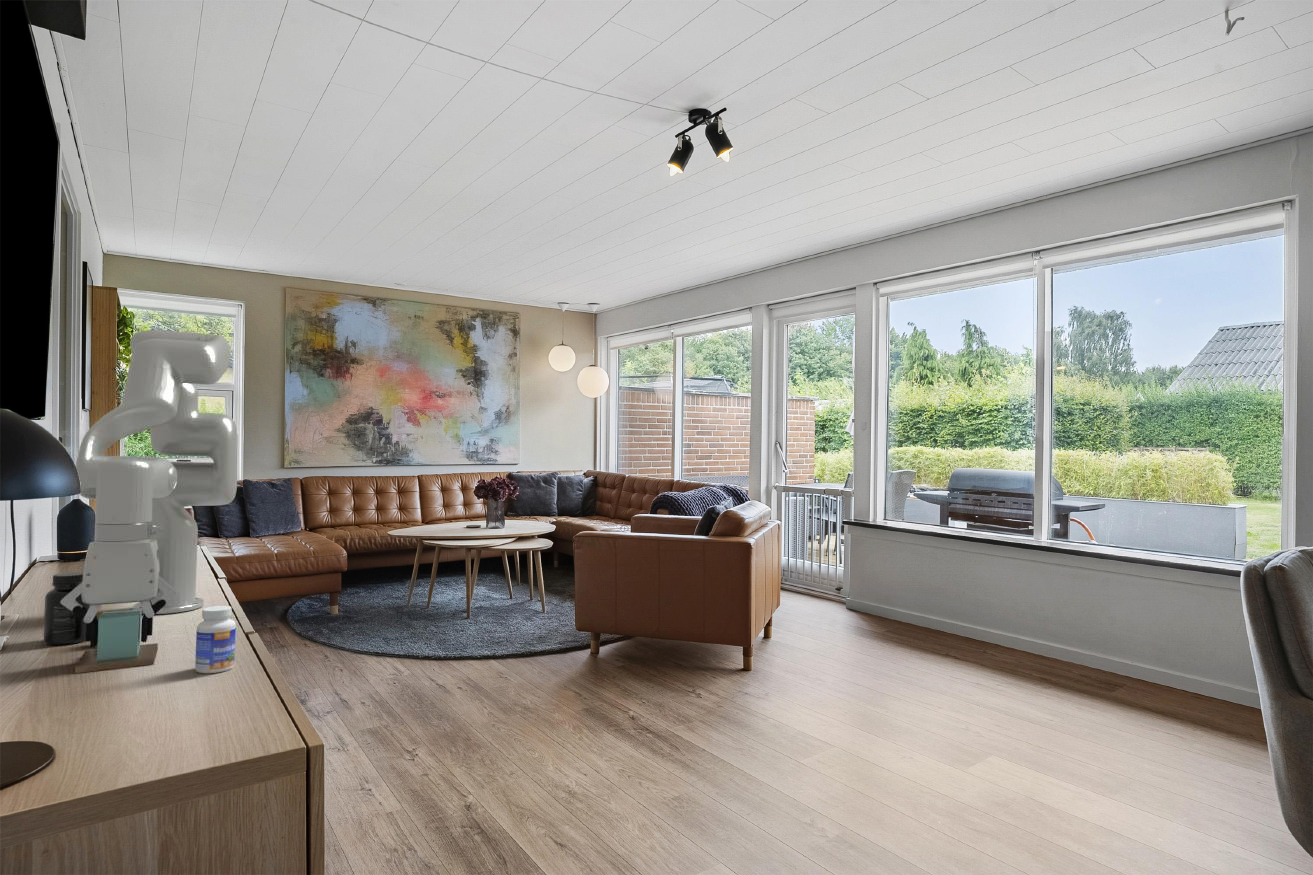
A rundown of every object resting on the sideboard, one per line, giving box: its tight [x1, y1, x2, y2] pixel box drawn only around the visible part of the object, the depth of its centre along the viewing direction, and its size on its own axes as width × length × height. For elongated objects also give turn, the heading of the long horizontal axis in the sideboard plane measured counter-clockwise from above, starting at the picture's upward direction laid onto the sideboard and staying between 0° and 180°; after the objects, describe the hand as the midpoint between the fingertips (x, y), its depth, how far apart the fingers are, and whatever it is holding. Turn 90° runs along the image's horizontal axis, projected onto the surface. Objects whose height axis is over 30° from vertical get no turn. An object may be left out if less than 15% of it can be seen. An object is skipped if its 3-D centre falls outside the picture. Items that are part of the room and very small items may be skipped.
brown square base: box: [74, 643, 159, 674], centre depth 118 cm, size 10×10×7 cm
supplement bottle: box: [43, 571, 91, 646], centre depth 128 cm, size 7×7×12 cm
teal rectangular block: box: [96, 609, 142, 661], centre depth 118 cm, size 5×5×7 cm
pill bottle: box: [194, 605, 237, 674], centre depth 115 cm, size 5×5×10 cm
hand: (119, 641), depth 118 cm, fingers open, 6 cm apart
